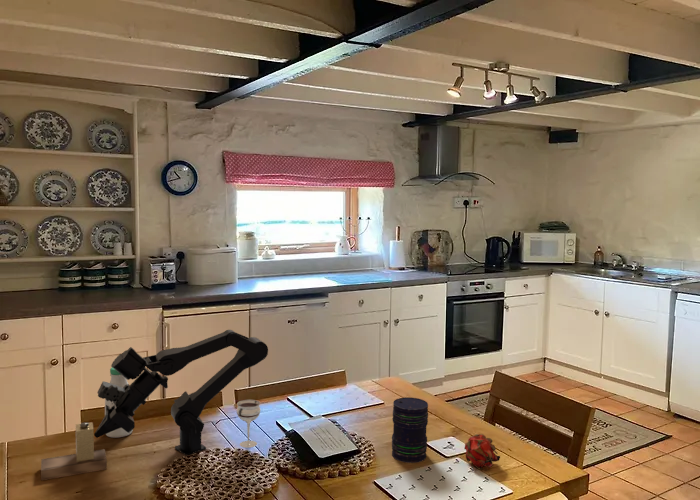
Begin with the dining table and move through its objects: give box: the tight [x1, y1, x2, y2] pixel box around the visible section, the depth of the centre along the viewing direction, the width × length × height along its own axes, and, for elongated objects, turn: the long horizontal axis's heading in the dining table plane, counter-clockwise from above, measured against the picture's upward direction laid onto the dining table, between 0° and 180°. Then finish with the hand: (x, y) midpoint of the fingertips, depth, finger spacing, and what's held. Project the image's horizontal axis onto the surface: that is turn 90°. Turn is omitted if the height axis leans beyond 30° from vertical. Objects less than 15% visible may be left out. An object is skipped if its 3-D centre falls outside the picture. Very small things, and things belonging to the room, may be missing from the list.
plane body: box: [40, 448, 108, 481], centre depth 149 cm, size 15×7×2 cm, turn 117°
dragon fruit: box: [464, 433, 501, 471], centre depth 157 cm, size 8×8×12 cm
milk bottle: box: [104, 367, 134, 439], centre depth 171 cm, size 8×8×20 cm
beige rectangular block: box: [75, 421, 95, 462], centre depth 150 cm, size 4×5×9 cm
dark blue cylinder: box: [391, 396, 429, 464], centre depth 161 cm, size 10×10×15 cm
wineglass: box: [236, 399, 261, 449], centre depth 166 cm, size 7×7×12 cm
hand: (95, 436), depth 151 cm, fingers closed
